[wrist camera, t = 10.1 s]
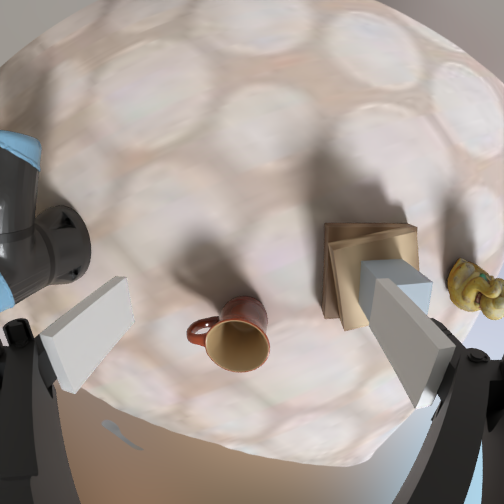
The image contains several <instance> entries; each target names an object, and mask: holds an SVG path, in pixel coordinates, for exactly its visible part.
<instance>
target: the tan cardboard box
mask: <svg viewBox="0 0 504 504" xmlns="http://www.w3.org/2000/svg"><path fill="white" fill-rule="evenodd" d="M404 226H405V227H407V228H410V229H412V230H414V231H416V232H417V227H415V226H413V225H410V224H406V223H325V226H324V273H323V295H322V312H323V315H324V318H325V319H333V318H340V317H339V310H338V302H337V295H336V288H335V282H334V275H333V269H332V263H331V257H330V252H329V246H328V243H331V242H336V241H341V240H345V239H350V238H354V237H359V236H363V235H368V234H372V233H377V232H382V231H386V230H391V229H395V228H400V227H404Z"/></svg>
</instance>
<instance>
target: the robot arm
mask: <svg viewBox="0 0 504 504" xmlns="http://www.w3.org/2000/svg"><path fill="white" fill-rule="evenodd" d="M41 150H42V148H41V144H40V142H39V141H38V140H37V139H36V138H34V137H31V136H28V135H24V134H20V133H16V132H11V131H5V130H0V312H2V311H4V310H6V309H9V308H12V307H13V306H14V305H15V304H17V303H19V302H20V301H22V300H24V299H25V298H27V297H29V296H30V295H32V294H34V293H35V292H37V291H39V290H41V289H42V288H44V287H46V286H48V285H57V284H69V283H72V282H74V281H76V280H77V279H79V278H81V277H82V276H83V275H84V274H85V272H86V271H87V269H88V266H89V263H90V258H91V244H90V238H89V234H88V231H87V229H86V226H85V224H84V222H83V221H82V219H81V218H80V216H79V215H78V214H77V213H76V212H75V211H74V210H72V209H71V208H69V207H66V206H55V207H50V208H48V209H46V210H44V211H43V212H42V213H40V214H39V215H38V216H37V217H35V210H36V197H37V186H38V178H39V172H40V170H41V169H40V158H41ZM134 322H135V320H134V315H133V310H132V305H131V299H130V294H129V288H128V282H127V277H118V276H115V277H114V278H112V279H111V280H110V281H108V282H107V283H105V284H104V285H103V286H101V287H100V288H99V289H97V290H96V291H94V292H93V293H92V294H90V295H89V296H88V297H86V298H85V299H84V300H82V301H81V302H80V303H78V304H77V305H76V306H74V307H73V308H72V309H71V310H69V311H68V312H67V313H65V314H64V315H63V316H61V317H60V318H59V319H58V320H56V321H55V322H54V323H52V324H51V325H50V326H49V327H47V328H46V329H45V330H44V331H42V332H41V333H40V334H39V335H38V336H36V337H35V338H34V337H33V334H32V331H31V328H30V325H29V322H28V320H27V319H23V318H20V319H15V320H12V321H10V322H8V323H7V324H5V325H4V327H3V331H4V333H5V336H6V339H7V341H8V344H9V346H3V345H2V342H1V339H0V504H81V503H80V500H79V497H78V494H77V492H76V488H75V485H74V481H73V478H72V475H71V471H70V467H69V463H68V459H67V455H66V451H65V446H64V441H63V436H62V430H61V425H60V419H59V412H58V406H57V405H58V404H57V396H56V389H55V387H54V385H53V382H54V381H55V380H56V379H57V380H58V382H59V384H60V386H61V388H62V390H65V391H68V392H71V393H74V394H76V392H77V391H78V390H79V388H80V387H81V386H82V385H83V383H84V382H85V381H86V380H87V378H88V377H89V376H90V375H91V373H92V372H93V371H94V370H95V369H96V367H97V366H98V365H99V364H100V362H101V361H102V360H103V359H104V358H105V356H106V355H107V354H108V353H109V352H110V350H111V349H112V348H113V347H114V346H115V344H116V343H117V342H118V341H119V340H120V338H121V337H122V336H123V335H124V334H125V333H126V331H127V330H128V329H129V328H130V327H131V326H132V324H133V323H134ZM369 327H370V329H371V330H372V332H373V334H374V336H375V337H376V339H377V341H378V342H379V344H380V346H381V348H382V349H383V351H384V353H385V355H386V356H387V358H388V360H389V362H390V363H391V365H392V367H393V369H394V371H395V372H396V374H397V376H398V378H399V380H400V382H401V383H402V385H403V387H404V389H405V391H406V393H407V395H408V396H409V398H410V400H411V402H412V404H413V406H414V408H415V409H418V408H423V407H427V406H431V405H432V403H433V401H434V399H435V397H436V395H437V394H438V396H439V397H440V399H441V402H440V404H439V406H438V408H437V410H436V411H435V413H434V415H433V417H432V419H431V420H432V424H431V426H430V429H429V432H428V434H427V436H426V439H425V441H424V443H423V446H422V448H421V450H420V452H419V454H418V457H417V459H416V461H415V463H414V465H413V467H412V469H411V471H410V473H409V475H408V476H407V478H406V480H405V482H404V484H403V486H402V487H401V489H400V491H399V493H398V494H397V496H396V498H395V500H394V501H393V503H392V504H464V501H465V498H466V495H467V492H468V489H469V486H470V483H471V480H472V477H473V473H474V470H475V466H476V462H477V458H478V454H479V450H480V446H481V441H482V452H483V483H482V501H481V504H504V355H503V357H502V360H490V357H489V356H488V355H487V354H486V353H485V352H483V351H482V350H479V349H474V348H468V349H466V348H465V347H464V346H463V345H462V343H461V342H460V341H459V340H458V339H457V338H456V337H455V336H454V335H452V333H451V332H450V331H449V330H447V328H446V327H445V326H444V325H443V324H442V323H441V322H439V321H437V320H435V319H433V318H429V317H428V316H427V315H426V314H425V313H424V312H423V311H422V310H421V309H420V308H419V307H418V306H417V305H416V304H415V303H414V302H413V301H412V300H411V299H410V298H409V297H408V296H407V295H406V294H405V293H404V292H403V291H402V290H401V289H400V288H399V287H398V286H397V285H396V284H395V283H394V282H392V281H391V280H390V279H389V278H380V279H376V282H375V290H374V297H373V303H372V310H371V316H370V321H369Z"/></svg>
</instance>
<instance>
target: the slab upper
mask: <svg viewBox="0 0 504 504" xmlns="http://www.w3.org/2000/svg"><path fill="white" fill-rule="evenodd" d="M328 246H329V252H330V257H331V263H332V269H333V275H334V282H335V288H336V295H337V302H338V310H339V317H340V321H341V323H342V326H343V328H344V331H348V330H352V329H356V328H360V327H364V326H368V325H369V321H368V319H367V318H366V316H365V314H364V312H363V311H362V309H361V307H360V305H359V304H358V302H359V289H360V272H361V261H368V260H388V259H403V260H404V261H406V262H407V263H408V264H410V265H411V266H412V267H414V268H415V269H416V270H418V271H419V257H418V243H417V232H416V231H414V230H412V229H410V228H407V227H405V226H404V227H400V228H395V229H391V230H386V231H382V232H377V233H372V234H368V235H363V236H359V237H354V238H350V239H345V240H341V241H336V242H331V243H328Z"/></svg>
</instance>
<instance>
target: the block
mask: <svg viewBox="0 0 504 504" xmlns="http://www.w3.org/2000/svg"><path fill="white" fill-rule="evenodd" d="M380 278H389V279H390V280H391V281H392V282H394V283H395V284H396V285H397V286H398V287H399V288H400V289H401V290H402V291H403V292H404V293H405V294H406V295H407V296H408V297H409V298H410V299H411V300H412V301H413V302H414V303H415V304H416V305H417V306H418V307H419V308H420V309H421V310H422V311H423V312H424V313H425V314H426V315H427V314H428V309H429V303H430V297H431V291H432V284H433V282H432V281H431V280H429V279H428V278H427V277H426V276H424V275H423V274H422V273H420V272H419V271H418V270H416V269H415V268H414V267H412V266H411V265H410V264H408V263H407V262H406V261H404V260H403V259H388V260H368V261H361V272H360V289H359V302H358V304H359V305H360V307H361V309H362V311H363V312H364V314H365V316H366V318H367V319H368V321H370V316H371V310H372V303H373V297H374V290H375V282H376V279H380Z"/></svg>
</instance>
